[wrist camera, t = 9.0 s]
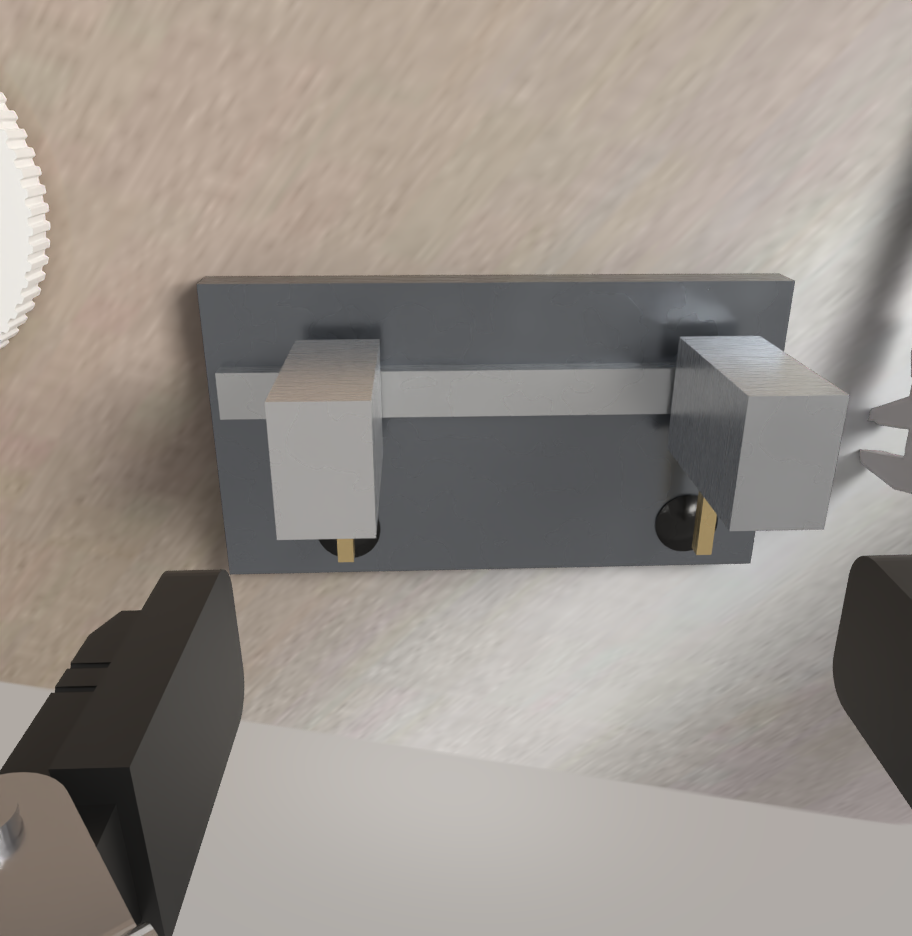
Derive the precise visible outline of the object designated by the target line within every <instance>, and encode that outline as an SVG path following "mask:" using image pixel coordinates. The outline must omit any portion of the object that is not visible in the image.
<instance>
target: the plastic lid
mask: <svg viewBox="0 0 912 936" xmlns="http://www.w3.org/2000/svg"><path fill="white" fill-rule="evenodd" d="M6 101H7V98H6V97H5V96H4V94H3V93H2V92H0V349H1V348H3V347H5V346H6V345H7V344H8V343H9V341H8V339H10V338H11V337H13V336H15V335H16V334H17V333H18V332H19V329H18V328H17V327H18V326H20V325H22V324H23V323H25V322H26V320H27V319H28V317H27V316H26V315H25V313H27V312H29V311H31V310H32V309H33V308H34V306H35V303H34V302H33V301H32V299H33V298H34V297H36V296H38V295H39V294H40V292H41V288H39V287H38V283H39V282H41V281H43V280H44V279H45V275H46V274H45V273H44V272H43V271H42V268H43V266H44V265H46V264H48V260H49V257H48V256H46V255H45V249H46V248H49V247H50V240H49V239H48V238H46V231H48V230H50V222H49V221H47V220H46V219H45V213H47V212H49V206H48V204H47V203H45V202H44V201H43V194H46V189H45V185H42V184H40V182H39V178H38V177H39V176H40V175H42V173H41V169H40V167H39V166H35V165H34V162H33V159H32V158H33V157H34V156H35V152H34V150H33V148H32V147H28V146H27V144H26V142H25V139H26V138H27V137H28V136H27V134H26V132H25V130H24V129H20V128H19V127H18V125H17V123H16V120H17V119H18V116H17V115H16V113H15V111H14V110H8V108H7V106H6V105H5V102H6Z"/></svg>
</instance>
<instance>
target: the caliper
mask: <svg viewBox="0 0 912 936" xmlns="http://www.w3.org/2000/svg"><path fill="white" fill-rule="evenodd" d="M911 377H912V350H911ZM868 421H875V422H876V424H878V425H883V426H889V427H895V428H901V429H909V432H908V437H907V442H906V448H905V455H904V456H901V455H896V454H891V453H888V452H884V451H876V450H862V449H860V453H859V457H860V462H861V463H862V464H863V465H864V466H865V467H866V468H867V469H869V470H870V471H871V472H872V473H874V474H875V475H876V476H878V477H879V478H880V479H881V480H883V481H884V482H885V483H887V484H888V485H889V486H890V487H892V488H893V489H895V490H899V491H903V492H907V493H911V494H912V386H911V391H910V396H909V397H906V398H903V399H900V400H897V401H894V402H891V403H888V404H885V405H882V406H879V407H876V408H873V409H871V411H870V414H869V418H868Z"/></svg>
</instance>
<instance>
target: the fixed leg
mask: <svg viewBox="0 0 912 936" xmlns="http://www.w3.org/2000/svg"><path fill="white" fill-rule="evenodd" d="M849 396H850V395H849V394H847V393H846V392H844V391H843V390H841V389H840V388H838V387H837V386H835V385H834V384H832V383H831V382H829V381H828V380H826V379H824V378H823V377H821V376H820V375H818V374H817V373H815V372H814V371H812V370H811V369H809V368H808V367H806V366H805V365H803V364H802V363H800V362H799V361H797V360H796V359H794V358H793V357H791V356H789V355H788V354H786V353H785V352H783V351H782V350H780V349H779V348H777V347H776V346H774V345H773V344H771V343H770V342H768V341H767V340H765V339H764V338H762V337H761V336H686V337H679V343H678V352H677V361H676V370H675V380H674V389H673V398H672V407H671V417H670V426H669V435H668V444H667V449H668V450H669V451H670V453H671V454H672V455H673V457H674V458H675V459H676V461H677V462H678V463H679V465H680V466H681V467H682V469H683V470H684V471H685V473H686V474H687V475H688V477H689V478H690V479H691V481H692V482H693V483H694V485H695V486H696V487H697V489H698V490H699V493H698V501H697V509H696V517H695V525H694V533H693V541H692V549H693V551H694V552H695V554H696V555H711V554H712V547H713V539H714V532H715V525H716V517H717V515H718V517H719V518H720V519H721V521H722V522H723V523H724V525H725V526H726V527H727V529H728V530H729V531H769V530H821V529H824V526H825V521H826V515H827V510H828V505H829V500H830V495H831V490H832V484H833V479H834V474H835V469H836V464H837V459H838V453H839V448H840V443H841V438H842V433H843V427H844V422H845V417H846V412H847V407H848V402H849Z"/></svg>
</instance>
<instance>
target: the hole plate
mask: <svg viewBox="0 0 912 936" xmlns="http://www.w3.org/2000/svg"><path fill="white" fill-rule="evenodd" d="M794 284H795V281H794V280H792V279H790V278H788V277H786V276H783V275H781V274H593V275H403V276H214V277H205V278H203V279H202V280H201V281H200V282H199V283H197V292H198V301H199V310H200V318H201V327H202V336H203V345H204V353H205V362H206V371H207V379H208V388H209V397H210V405H211V414H212V423H213V432H214V440H215V449H216V458H217V466H218V475H219V484H220V492H221V501H222V510H223V519H224V527H225V536H226V545H227V553H228V562H229V571H230V574H271V573H319V572H366V571H413V570H460V569H508V568H555V567H602V566H649V565H696V564H744V563H750V562H751V556H752V550H753V543H754V537H755V531H729V530H728V529H727V527H726V526H725V525H724V523H723V522H722V521H721V519H720V518H719V517H718V515H717V517H716V525H715V532H714V539H713V547H712V554H711V555H696V554H695V552H694V551H693V549H692V541H693V533H694V525H695V517H696V509H697V501H698V493H699V490H698V489H697V487H696V486H695V485H694V483H693V482H692V481H691V479H690V478H689V477H688V475H687V474H686V473H685V471H684V470H683V469H682V467H681V466H680V465H679V463H678V462H677V461H676V459H675V458H674V457H673V455H672V454H671V453H670V451H669V450H668V449H667V444H668V435H669V426H670V417H671V407H672V398H673V389H674V380H675V370H676V361H677V352H678V343H679V337H686V336H761V337H762V338H764V339H765V340H767V341H768V342H770V343H771V344H773V345H774V346H776V347H777V348H779V349H780V350H782V351H783V352H784V347H785V341H786V334H787V328H788V322H789V315H790V309H791V303H792V296H793V290H794ZM341 339H379V341H380V372H381V403H382V434H383V460H382V472H381V484H380V497H379V509H378V521H377V533H376V538H357V539H354V548H355V557H354V562H338V551H337V539H305V540H277V535H276V524H275V513H274V501H273V490H272V479H271V468H270V456H269V445H268V434H267V422H266V411H265V401H266V398H267V396H268V394H269V392H270V390H271V388H272V386H273V384H274V382H275V380H276V378H277V376H278V374H279V372H280V370H281V368H282V366H283V364H284V362H285V360H286V358H287V356H288V354H289V352H290V350H291V348H292V346H293V344H294V342H295V340H341Z"/></svg>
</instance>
